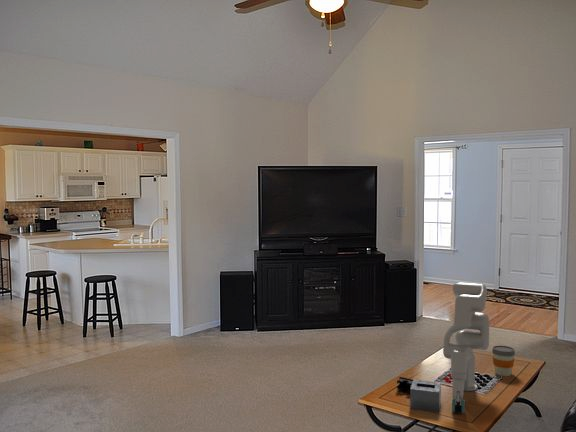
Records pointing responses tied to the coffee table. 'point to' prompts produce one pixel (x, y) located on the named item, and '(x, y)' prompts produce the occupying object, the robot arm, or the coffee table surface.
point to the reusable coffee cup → (503, 360)
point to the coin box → (425, 395)
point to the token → (456, 404)
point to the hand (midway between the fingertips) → (458, 409)
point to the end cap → (404, 385)
